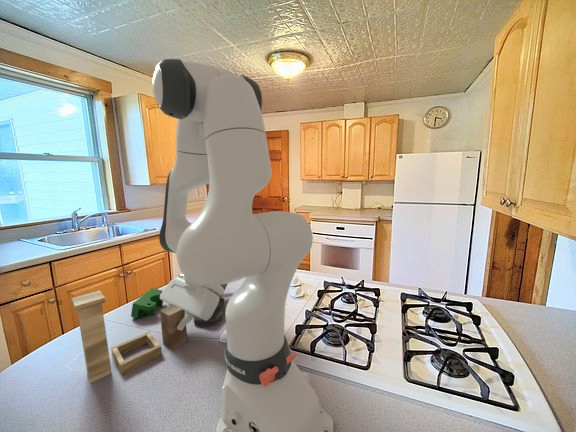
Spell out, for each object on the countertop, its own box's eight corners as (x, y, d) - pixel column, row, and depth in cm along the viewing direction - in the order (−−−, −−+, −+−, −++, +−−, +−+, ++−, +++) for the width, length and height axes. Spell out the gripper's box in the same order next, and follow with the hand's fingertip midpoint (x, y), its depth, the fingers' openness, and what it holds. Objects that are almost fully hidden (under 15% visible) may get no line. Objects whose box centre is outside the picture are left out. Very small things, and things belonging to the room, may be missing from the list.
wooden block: (187, 340, 70) (184, 308, 69) (172, 349, 67) (169, 315, 65) (177, 335, 73) (175, 303, 71) (163, 343, 69) (159, 310, 68)
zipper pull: (232, 274, 101) (218, 306, 76) (232, 290, 102) (219, 326, 77) (209, 275, 100) (188, 307, 76) (210, 290, 101) (190, 327, 77)
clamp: (150, 328, 84) (147, 312, 79) (132, 324, 84) (129, 307, 79) (168, 299, 94) (167, 283, 89) (153, 296, 94) (150, 279, 89)
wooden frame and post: (161, 354, 65) (154, 285, 62) (89, 391, 54) (76, 309, 51) (149, 339, 71) (142, 276, 68) (82, 369, 60) (70, 295, 57)
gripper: (171, 268, 78) (142, 311, 72) (215, 282, 67) (186, 335, 61) (185, 277, 83) (159, 318, 76) (228, 291, 72) (202, 341, 65)
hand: (171, 325), depth 68 cm, fingers closed on wooden block, 4 cm apart
